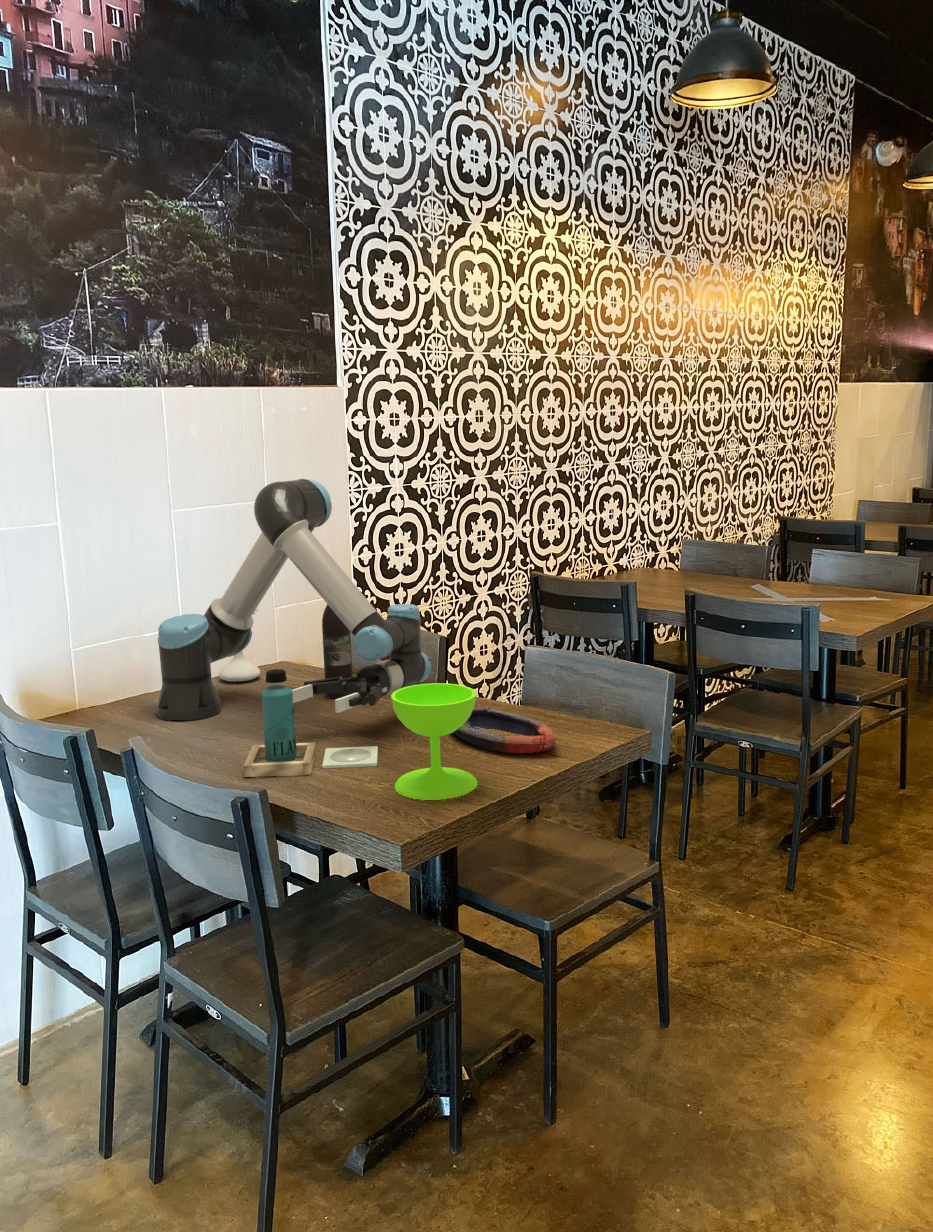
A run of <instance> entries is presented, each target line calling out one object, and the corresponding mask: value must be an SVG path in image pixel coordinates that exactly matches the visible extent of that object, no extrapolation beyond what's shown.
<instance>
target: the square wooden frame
mask: <svg viewBox="0 0 933 1232" xmlns="http://www.w3.org/2000/svg"><path fill="white" fill-rule="evenodd" d="M316 747H317V745H316V742H298V743H297V742H296V752H297V753H296V758H301V757H303V760H293V761H287V762H267V761H266V762H260V758H262V759H266V758H265V744H253V745H252V747H251V749H250V751H249V752H248V753H249V754H248V756H247V757H246V760H245V762H244V764H243V772H244V773H243V774H244V775H243V776H244V778H245V777H251V776H252V777H255V776H277V777H291V776H292V777H294V776H296V777H298V776H311V775H312V772H313V769H314V763H315V759H316V756H317V755H316V754H317V748H316Z"/></svg>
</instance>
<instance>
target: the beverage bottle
mask: <svg viewBox="0 0 933 1232" xmlns="http://www.w3.org/2000/svg"><path fill="white" fill-rule="evenodd" d="M287 678H288V677H287V673H286V670H285V669H282V668H280V669H279V668H277V669H276V668H275V669H269V670H267V671H266V672H265V682H266V683H269V684H272V685H269V686H266V687H265V689H264V690H262V692H261V693H260V694H261V703H262V715H263V716H262V717H263V719H262V720H263V737H264V745H265V758H264V759H265V760H266V762H287V761H295V760H296V758H297V757H296V753H297V752H296V743H297V740H296V734H297V733H296V727H295V725H296V723H295V708H294V703H293V696H292V694H293V691H292V690H293V689H292V688H291V687H289V686H288V685H287V684H281V683H285V682H287Z"/></svg>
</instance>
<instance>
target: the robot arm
mask: <svg viewBox="0 0 933 1232" xmlns="http://www.w3.org/2000/svg"><path fill="white" fill-rule="evenodd" d="M331 501H332V500H331V496H330V493H329V492H328V490H327V489H326V488H325V485H323V484H322V483H320V482H319V481H317V480H314V479H310V478H309V479H307V478H300V479H299V478H298V479H295V480H286V481H285V480H284V481H274V482H270V483H269V484H267V485H266V486H264V487H263V488H262V489H261V490H260V491H259V492H258V494H257V496H256V497H255V501H254V506H253V512H254V518H255V521H256V522H257V525H258V527H259V529H260V531H261V532H260V535H259V536H258V537H257V539H256V541H255V542H254V544H253V546H252V548H251V550H250V551H249V553H248V554H247V556H246V558H245V559H244V561H243V562H242V564H241V566H240V567H239V569H238V571H237V572H236V573H235V575H234V577H233V579H232V581H230V584H229V585H228V587H227V589H226V591H224V594H223V595H222V597H219V598H215V599H213V600H212V601H211V603H210V605H209V606H208V608H207V609H206V611H205V612H204V614H199V613H187V614H181V615H175V616H173V617H169V618H167V619H165V620H164V621H162V622H161V623H160V624H159V626H158V634H157V635H158V636H157V643H158V651H159V662H160V673H161V674H160V675H161V688H160V692H159V696H158V700H157V704H156V714H157V715H158V716H159V717H160V718H159V717H158V716H157V715H156V716H157V717H158V718H159V719H161V718H162V719H161V720H164V719H166V720H165V721H171V720H187V721H195V720H199V719H200V720H201V719H205V718H209V717H212V716H215V715H218V714H219V713H221V711H222V702H221V699H220V696H219V694H218V692H217V689H216V687H215V686H216V685H214V682H213V679H212V666H211V663H212V664H213V663H215V662H217V661H221V660H224V659H226V658H230V657H232V656H233V657H234V655H236V654H238V652H240V651H243V650H245V649H246V648H247V647H248V645H249V644H250V642H251V640H252V635H253V631H252V628H253V625H254V618H253V615H254V614H253V613H254V611H255V610H256V608H258V606H259V605H260V603H261V602H262V600H263V599H264V597H265V595H266V594H267V592H268V591H269V589H270V588H271V586H272V584H273V583H274V581H275V580H276V578H277V576H278V574H279V573H280V571H281V570H282V568H283V567H284V565H285V564H286V562H287V560H288V559H289V560H290V561H291V562H292V563H293V565H294V566H295V567H296V569H298V570H299V572H300V573H301V575H303V577H304V578H305V579H306V580H307V581H308V583H309V584H310V585H311V586H312V587H313V588H314V590H315V591H316V593H318V594H319V596H320V597H321V598H322V599H323V600H324V602H325V603H326V605H327V604H328V605H329V606H330V608H331V609H332V610H333V611H334V612H335V614H336V615H337V616H338V617H339V618H340V620H341V621H342V622H343V623H344V624H345V626H346V627H347V628H348V629H349V630H350V633H351V634H352V636H353V637H354V640H353V642H354V643H353V644H354V645H353V646H354V648H355V652H356V653H357V655H358V656H359V657H361V658H362V659H363V660H366V661H372V662H373V661H377V660H378V662H375V663H374V664H373V663H372V664H369V665H367V666H363V667H362V668H360V669H359V670H358V672H357V673H356V676H355V675H354V676H353V675H352V677H350V678H345V676H343V675H341V676H338V677H334V678H327V679H325V678H322V679H316V680H307V681H303V686H300V687H296V688H294V689H291V690H292V691H293V694H292V696H293V704H295V703H297V702H301V701H303V700H307V699H312V698H313V697H314V696H315V695H317V696H318V695H326V694H330V693H340V694H341V695H344V694H351V695H348V696H345V697H342V698H339V699H334V705H335V706H334V707H335V709H334V710H335V711H334V712H335V713H337V714H339V713H342V712H344V711H348V710H351V709H354V708H356V707H359V706H360V705H361V706H366V705H367V704H368V706H371V707H373V706H375V705H376V704H377V703H378V702H379V701H380V700H381V699H382V698H383V697H384V696H391V694H392V692H394V691H396V690H398V689H401V688H404V687H408V686H413V685H419V684H420V683H422V682H424V681H425V680H427V679H428V678H429V676H430V675H431V672H432V664H431V662H430V659H429V657H428V655H427V654H425V653H424V652H423V651H422V639H421V634H422V633H421V631H422V630H421V622H422V620H421V616H420V615H421V613H420V609H419V606H418V605H415V604H412V603H400V604H399V603H398V604H392V605H390V606H389V607H388V608H387V613H386V619H385V618H383V617H382V615H381V614H380V613H379V612H378V611H377V610H376V608H375V607H374V606H373V605H372V603H371V602H370V601H369V600H368V599H367V597H366V596H365V595H364V594H363V592H361V590H360V589H359V587H357V585H356V584H355V583H354V582H353V581H352V579H351V578H350V577H349V576H348V575H347V573H345V571H344V569H342V567H340V565H339V564H338V563H337V562H336V560H335V559H334V558H333V557H332V555H330V553H329V552H328V551H327V549H325V547H324V546H323V545H322V543H320V541H319V540H318V539H317V537H315V535H314V534H313V531H314V530H315V528H318V527H321V526H324V525H325V523H326V522H328V520H329V519H330V516H331V515H332V509H333V508H332V507H333V505H332V502H331ZM255 612H256V611H255ZM388 655H390V659H389V660H385V661H382V662H379V659H381V658H384V657H386V656H388ZM343 687H345V691H343Z"/></svg>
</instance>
